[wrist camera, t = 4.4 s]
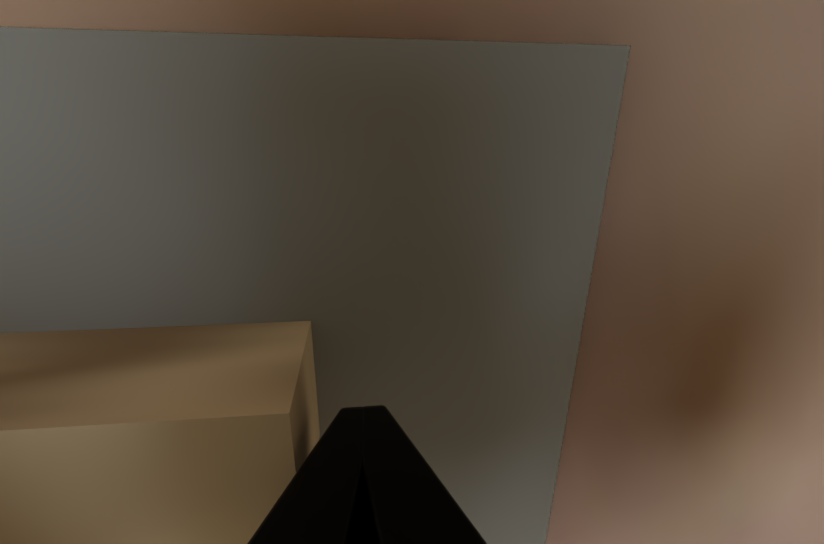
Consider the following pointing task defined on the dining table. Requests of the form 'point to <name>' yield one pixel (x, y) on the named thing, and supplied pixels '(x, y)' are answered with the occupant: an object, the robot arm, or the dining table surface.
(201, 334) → the long wooden beam
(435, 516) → the robot arm
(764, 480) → the dining table surface
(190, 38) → the mat
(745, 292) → the dining table surface
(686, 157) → the dining table surface
